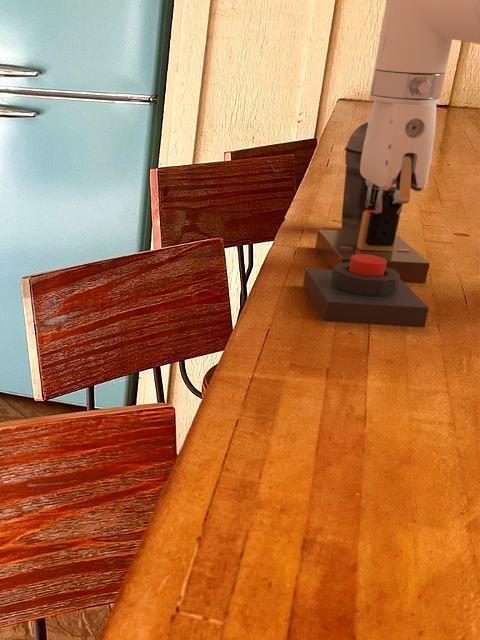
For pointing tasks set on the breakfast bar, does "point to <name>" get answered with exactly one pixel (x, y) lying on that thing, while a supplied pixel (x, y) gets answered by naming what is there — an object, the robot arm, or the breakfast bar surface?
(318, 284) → the dark grey button base
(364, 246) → the lock turn
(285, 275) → the breakfast bar surface
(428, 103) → the robot arm
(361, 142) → the beverage cup
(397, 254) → the plate
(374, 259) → the bell button
